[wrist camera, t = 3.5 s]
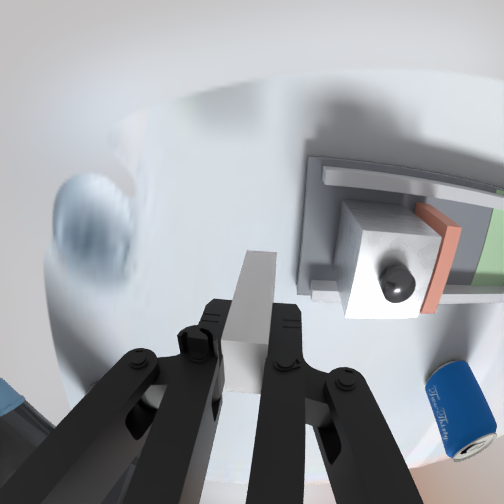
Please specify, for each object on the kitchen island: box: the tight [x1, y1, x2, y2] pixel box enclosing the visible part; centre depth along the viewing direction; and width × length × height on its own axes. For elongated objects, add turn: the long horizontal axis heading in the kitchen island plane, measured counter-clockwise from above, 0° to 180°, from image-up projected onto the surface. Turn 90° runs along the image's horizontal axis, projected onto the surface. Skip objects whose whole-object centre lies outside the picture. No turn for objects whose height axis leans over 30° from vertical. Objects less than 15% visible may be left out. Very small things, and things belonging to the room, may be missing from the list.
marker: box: [414, 202, 462, 314], centre depth 18 cm, size 1×6×5 cm, turn 179°
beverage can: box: [425, 360, 497, 462], centre depth 23 cm, size 6×6×12 cm
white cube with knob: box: [333, 199, 442, 318], centre depth 18 cm, size 5×6×7 cm
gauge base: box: [297, 156, 504, 304], centre depth 18 cm, size 28×11×8 cm, turn 89°
